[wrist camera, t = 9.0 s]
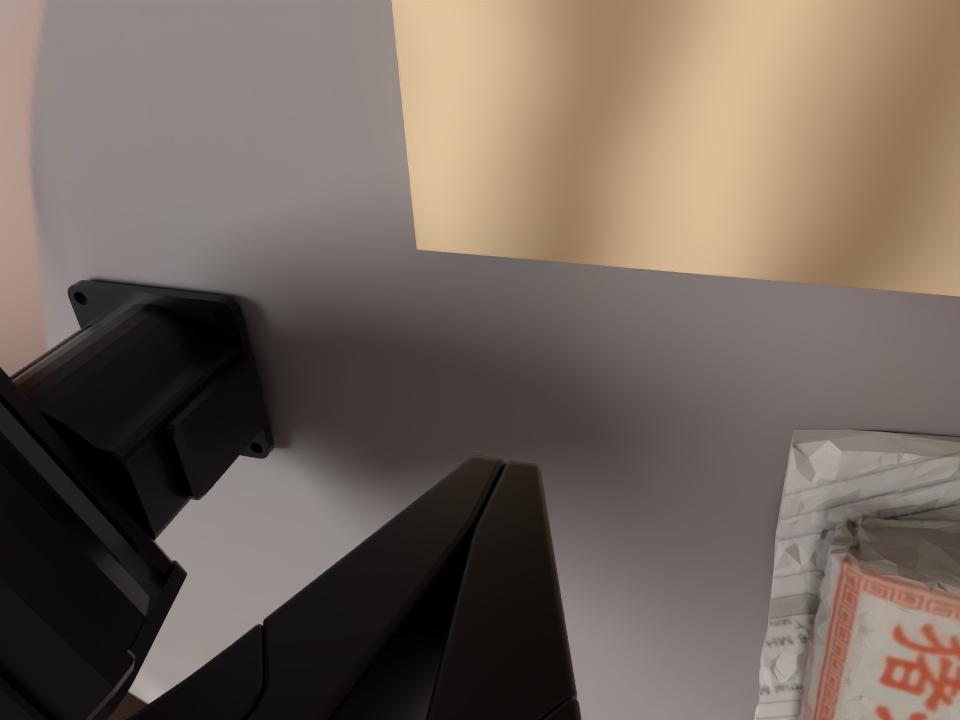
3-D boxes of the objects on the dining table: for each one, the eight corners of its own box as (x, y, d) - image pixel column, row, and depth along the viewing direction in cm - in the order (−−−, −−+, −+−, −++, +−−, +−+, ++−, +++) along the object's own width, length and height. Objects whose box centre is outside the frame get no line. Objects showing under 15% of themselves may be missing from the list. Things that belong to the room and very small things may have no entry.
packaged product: (1081, 976, 23) (749, 893, 26) (1028, 817, 26) (745, 762, 29) (1375, 597, 13) (801, 537, 16) (1227, 439, 17) (786, 414, 20)
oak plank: (435, 226, 20) (416, 249, 19) (410, -76, 16) (384, -72, 14) (1338, 295, 15) (1392, 334, 14) (1645, -119, 11) (1758, -117, 10)
